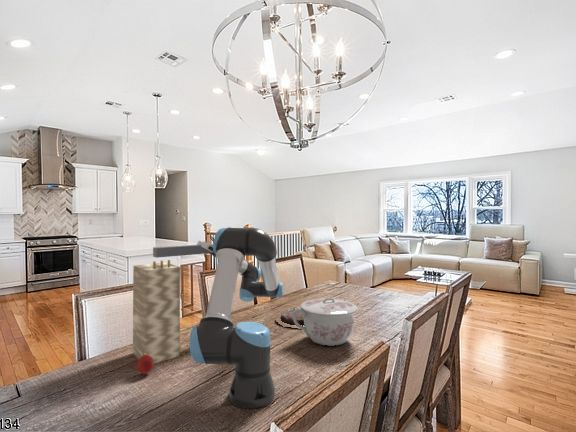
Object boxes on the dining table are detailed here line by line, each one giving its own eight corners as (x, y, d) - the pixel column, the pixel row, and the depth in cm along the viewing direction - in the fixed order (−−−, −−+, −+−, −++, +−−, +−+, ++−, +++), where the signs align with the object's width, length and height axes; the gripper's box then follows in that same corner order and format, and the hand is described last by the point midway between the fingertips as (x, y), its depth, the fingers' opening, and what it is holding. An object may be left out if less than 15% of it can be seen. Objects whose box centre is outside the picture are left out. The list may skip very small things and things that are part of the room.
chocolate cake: (267, 326, 174) (267, 314, 174) (284, 312, 200) (284, 301, 200) (317, 333, 165) (317, 320, 165) (328, 316, 191) (328, 306, 191)
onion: (149, 369, 124) (149, 348, 124) (156, 373, 121) (156, 352, 121) (134, 374, 120) (134, 353, 120) (141, 379, 116) (141, 357, 116)
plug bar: (156, 257, 135) (156, 248, 135) (153, 256, 138) (153, 247, 138) (213, 252, 153) (213, 244, 153) (209, 252, 156) (209, 243, 156)
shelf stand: (145, 366, 126) (146, 262, 126) (132, 353, 138) (133, 258, 138) (179, 356, 136) (180, 259, 136) (165, 344, 148) (165, 256, 148)
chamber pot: (365, 337, 159) (365, 295, 159) (345, 357, 135) (346, 309, 135) (314, 326, 173) (314, 288, 173) (288, 344, 150) (289, 299, 150)
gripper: (230, 255, 172) (195, 235, 158) (249, 259, 159) (212, 237, 145) (224, 268, 169) (188, 249, 155) (242, 273, 156) (205, 252, 143)
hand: (200, 243), depth 150 cm, fingers closed on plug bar, 4 cm apart
